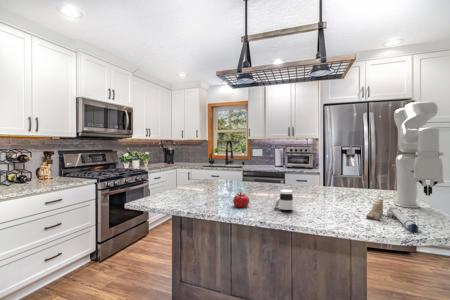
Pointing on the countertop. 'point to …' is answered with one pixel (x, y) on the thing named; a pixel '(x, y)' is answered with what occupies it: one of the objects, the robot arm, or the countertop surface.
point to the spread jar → (284, 201)
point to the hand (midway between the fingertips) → (427, 195)
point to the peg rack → (376, 210)
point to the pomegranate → (241, 200)
